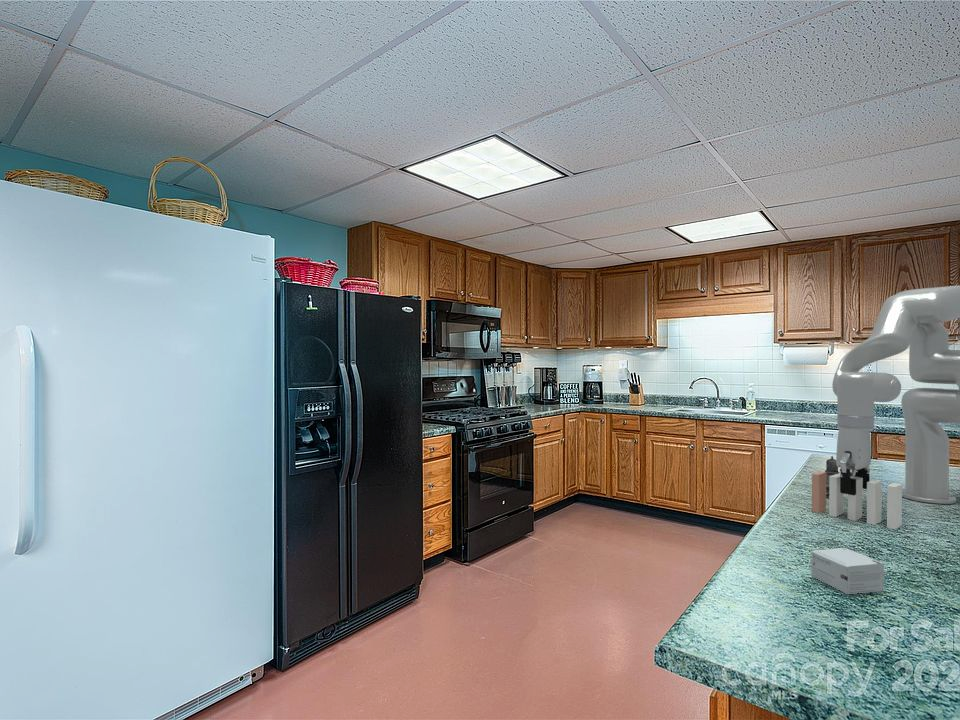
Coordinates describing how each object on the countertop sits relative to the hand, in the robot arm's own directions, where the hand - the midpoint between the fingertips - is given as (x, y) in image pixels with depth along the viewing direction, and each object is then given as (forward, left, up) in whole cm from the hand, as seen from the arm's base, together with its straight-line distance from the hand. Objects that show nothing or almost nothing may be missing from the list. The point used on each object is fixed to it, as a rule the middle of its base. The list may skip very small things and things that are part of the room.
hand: (855, 491), depth 130 cm
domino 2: (0, 0, -7) cm, 7 cm away
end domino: (0, -8, -7) cm, 11 cm away
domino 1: (0, -4, -7) cm, 8 cm away
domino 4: (0, +8, -7) cm, 11 cm away
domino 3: (0, +4, -7) cm, 8 cm away
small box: (+46, +13, -7) cm, 48 cm away
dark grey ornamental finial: (-18, -11, -7) cm, 22 cm away
